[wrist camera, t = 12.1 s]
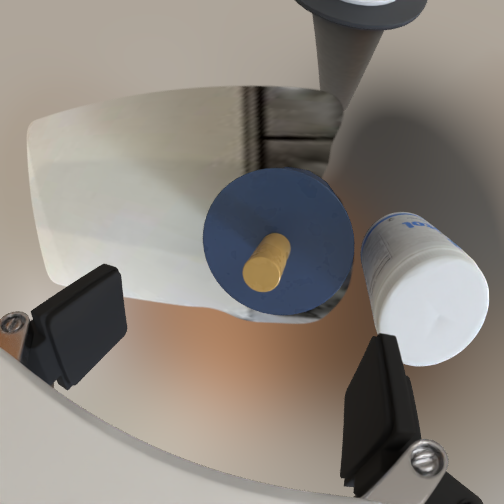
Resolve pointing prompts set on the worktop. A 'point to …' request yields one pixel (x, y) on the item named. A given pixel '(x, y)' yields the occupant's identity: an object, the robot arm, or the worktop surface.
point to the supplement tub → (422, 288)
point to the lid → (278, 241)
